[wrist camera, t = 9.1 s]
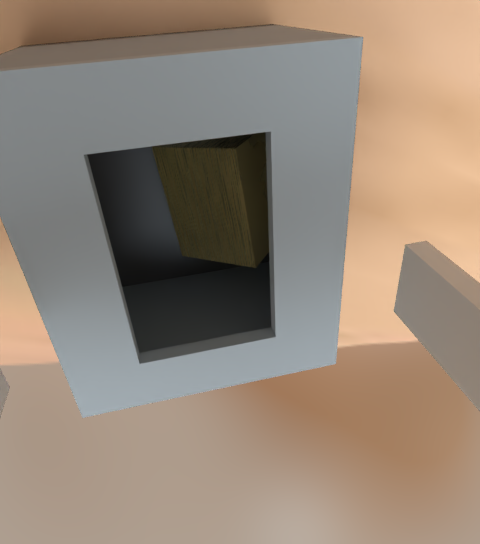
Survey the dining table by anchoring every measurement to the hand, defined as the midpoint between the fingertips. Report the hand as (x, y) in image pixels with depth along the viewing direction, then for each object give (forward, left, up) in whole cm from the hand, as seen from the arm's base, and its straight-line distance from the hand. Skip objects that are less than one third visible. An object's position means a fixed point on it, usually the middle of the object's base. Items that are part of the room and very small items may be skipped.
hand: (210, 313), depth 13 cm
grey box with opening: (0, 0, -13) cm, 13 cm away
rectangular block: (0, 0, -11) cm, 11 cm away
